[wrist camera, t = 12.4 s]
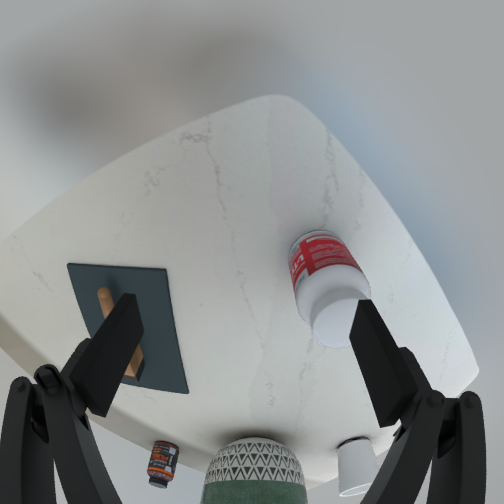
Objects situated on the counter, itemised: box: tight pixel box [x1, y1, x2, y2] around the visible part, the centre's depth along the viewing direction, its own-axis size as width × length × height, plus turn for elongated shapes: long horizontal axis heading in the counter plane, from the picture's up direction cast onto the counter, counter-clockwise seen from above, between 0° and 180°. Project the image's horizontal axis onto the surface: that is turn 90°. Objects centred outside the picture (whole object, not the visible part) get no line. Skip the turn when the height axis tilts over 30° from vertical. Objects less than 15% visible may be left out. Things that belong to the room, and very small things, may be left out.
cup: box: [337, 437, 380, 496], centre depth 41 cm, size 10×10×13 cm
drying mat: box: [67, 263, 189, 394], centre depth 33 cm, size 22×14×1 cm, turn 179°
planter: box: [200, 437, 308, 504], centre depth 36 cm, size 20×20×21 cm
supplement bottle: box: [147, 441, 179, 488], centre depth 44 cm, size 6×6×11 cm
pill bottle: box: [289, 231, 371, 348], centre depth 23 cm, size 6×6×11 cm
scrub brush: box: [98, 287, 145, 382], centre depth 30 cm, size 15×3×4 cm, turn 179°
